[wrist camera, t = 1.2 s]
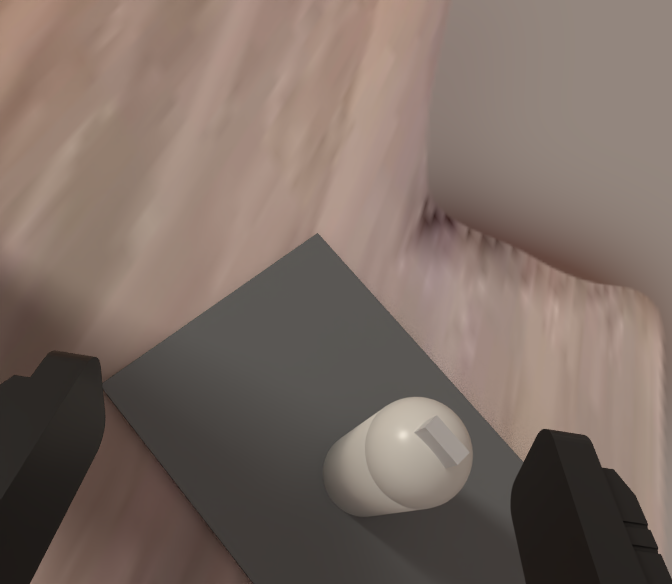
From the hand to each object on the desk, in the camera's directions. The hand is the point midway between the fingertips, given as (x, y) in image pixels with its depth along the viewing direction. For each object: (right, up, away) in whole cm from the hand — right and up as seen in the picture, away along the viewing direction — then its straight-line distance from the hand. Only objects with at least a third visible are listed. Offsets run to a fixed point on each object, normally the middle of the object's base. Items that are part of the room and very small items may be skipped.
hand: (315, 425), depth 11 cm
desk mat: (+1, -7, +23) cm, 24 cm away
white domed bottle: (+2, -8, +22) cm, 24 cm away
